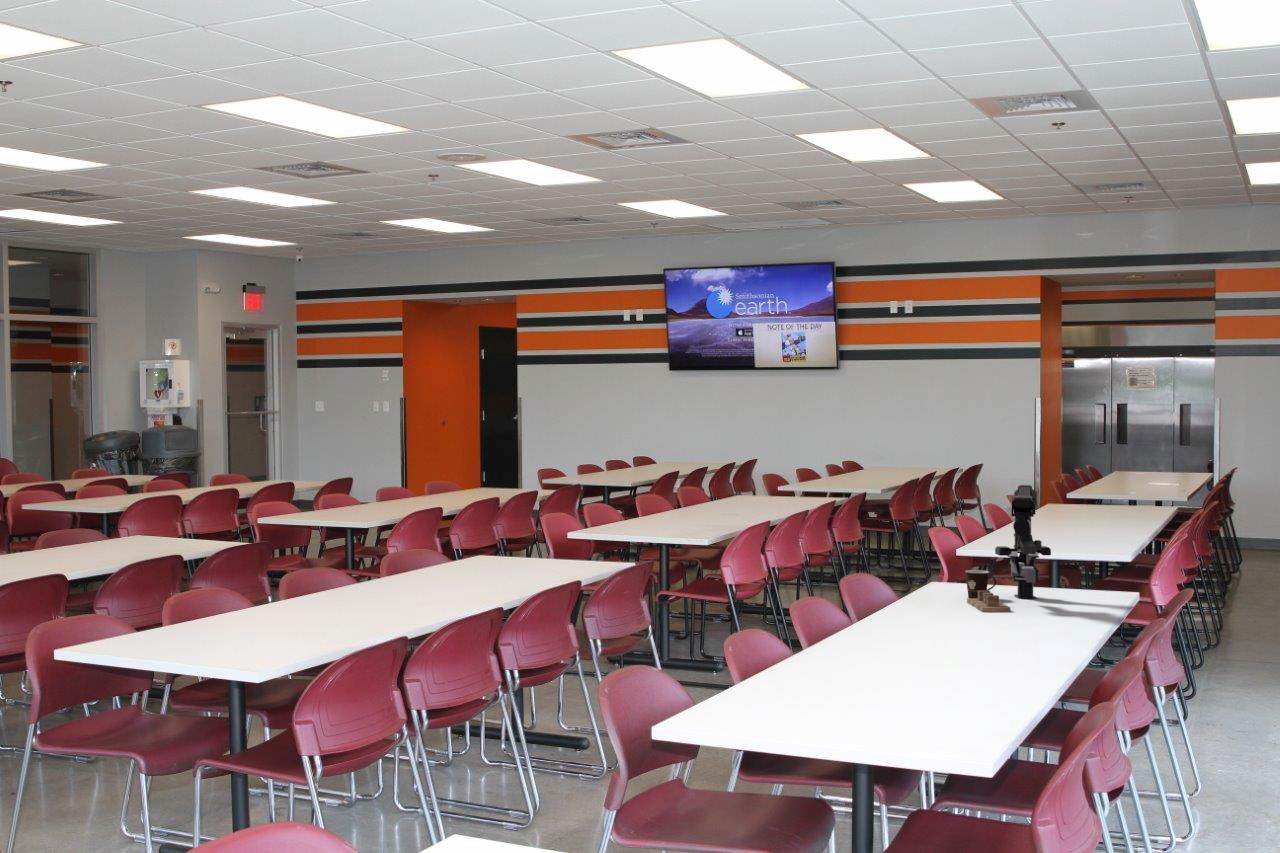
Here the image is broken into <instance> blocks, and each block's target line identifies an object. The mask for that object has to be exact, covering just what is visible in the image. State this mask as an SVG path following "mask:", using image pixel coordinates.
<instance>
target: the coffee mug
mask: <svg viewBox="0 0 1280 853" xmlns="http://www.w3.org/2000/svg"><path fill="white" fill-rule="evenodd" d="M964 572H965V580H966V581H965V582H966V589H967V595H968V598H967V599H978V591H991V590H992V589H993V588H995V586H996V585H997V579H996V578H995V577H994V576H992V575H991V576H989V574H990V571H988V570H983V569H982V570H980V569H978V570H977V569H972V570H971V569H969V570H965V571H964ZM990 579H993V581H994V584H993V585H992V586H991V587H988V583H989V580H990Z"/></svg>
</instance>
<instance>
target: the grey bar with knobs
mask: <svg viewBox="0 0 1280 853" xmlns="http://www.w3.org/2000/svg"><path fill="white" fill-rule="evenodd" d="M1019 570H1020V572H1019V575H1018V574H1017V572H1016V570H1015V567H1014V565H1013V562H1011V563H1010V576H1011V577H1014V576H1020V575H1021V576H1023V577H1025V579H1026V582H1027V583H1029V582H1033V583H1037V582H1036V570H1035V569H1033V566H1025V565H1024V563H1020V562H1019Z"/></svg>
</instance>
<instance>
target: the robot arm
mask: <svg viewBox="0 0 1280 853" xmlns="http://www.w3.org/2000/svg"><path fill="white" fill-rule="evenodd" d="M1017 486H1018V487H1017V489H1016V490H1015V491H1014V492H1013V494H1014V495H1013V499H1012V500H1011V514H1010V515H1011V517H1015V518H1014V522H1013V528H1012V529H1013V530H1014V533H1013V537H1014V544H1013V547H1010V546H1009V547H1008V546H1005V545H1004V546H1002V545H1000V546H999V545H997V546H996V547H995V549H994V552H995V553H994V554H995V555H998V556H1001V557H1002V556H1003V557H1004V556H1006V557H1008V558H1009V559H1010V561H1011V563H1013V565H1014V567H1015V570H1016V572H1017V574H1018V575H1019V572H1020V570H1019V562H1020V563H1024V565H1025V566H1033V569H1035V570H1036V582H1035V583H1038V582H1039V583H1040V574H1039V573H1040V572H1039V569H1038V567H1037V566H1036V562H1035V560H1036V559H1037V558H1040V556H1039V554H1040V555H1042V556H1051V555H1052V550H1051V548H1050V547H1049V546H1047V545H1042V541H1041V540H1040V539H1035V540H1033V539H1034V538H1033V534H1032V517H1034V516H1035V515H1036V510H1037V509H1036V508H1037V507H1038V492H1037V491H1036V490H1034V489H1033V486H1032V485H1027V484H1021V485H1017ZM1018 554H1019V555H1018ZM1013 582H1017V594H1014V597H1016V598H1018V599H1037V596H1035V595H1034V582H1029V583H1027V582H1026V578H1025V577H1023V576H1021V575H1020V576H1013Z"/></svg>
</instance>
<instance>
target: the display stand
mask: <svg viewBox="0 0 1280 853" xmlns="http://www.w3.org/2000/svg"><path fill="white" fill-rule="evenodd" d="M966 603H967V604H968V605H971V606H972V607H973V608H975V609H977V610H978V611H980V612H981V613H1008V612H1009V613H1010V612H1011V607H1010V606H1008V605H1006V604H1005V603H1003V602H1001V601H1000V596H999V595H995V594H994V593H993V592H991V590H989V591H978V599H970V598H967V599H966Z"/></svg>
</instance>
